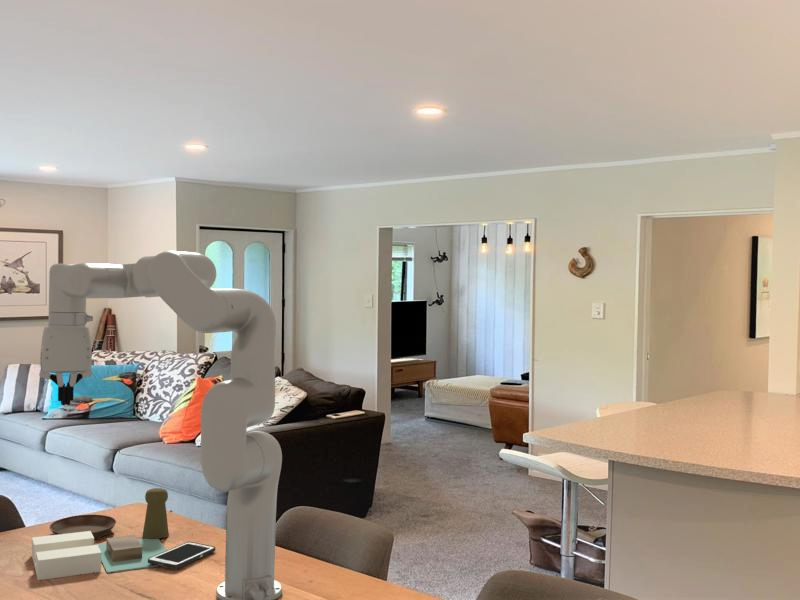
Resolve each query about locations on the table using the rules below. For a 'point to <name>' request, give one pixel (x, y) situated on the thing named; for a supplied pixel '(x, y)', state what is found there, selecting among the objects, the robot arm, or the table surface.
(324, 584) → the table surface
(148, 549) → the mat
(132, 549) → the brown flat block
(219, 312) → the robot arm
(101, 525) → the saucer
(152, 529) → the pepper mill
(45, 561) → the slotted block
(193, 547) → the cell phone
